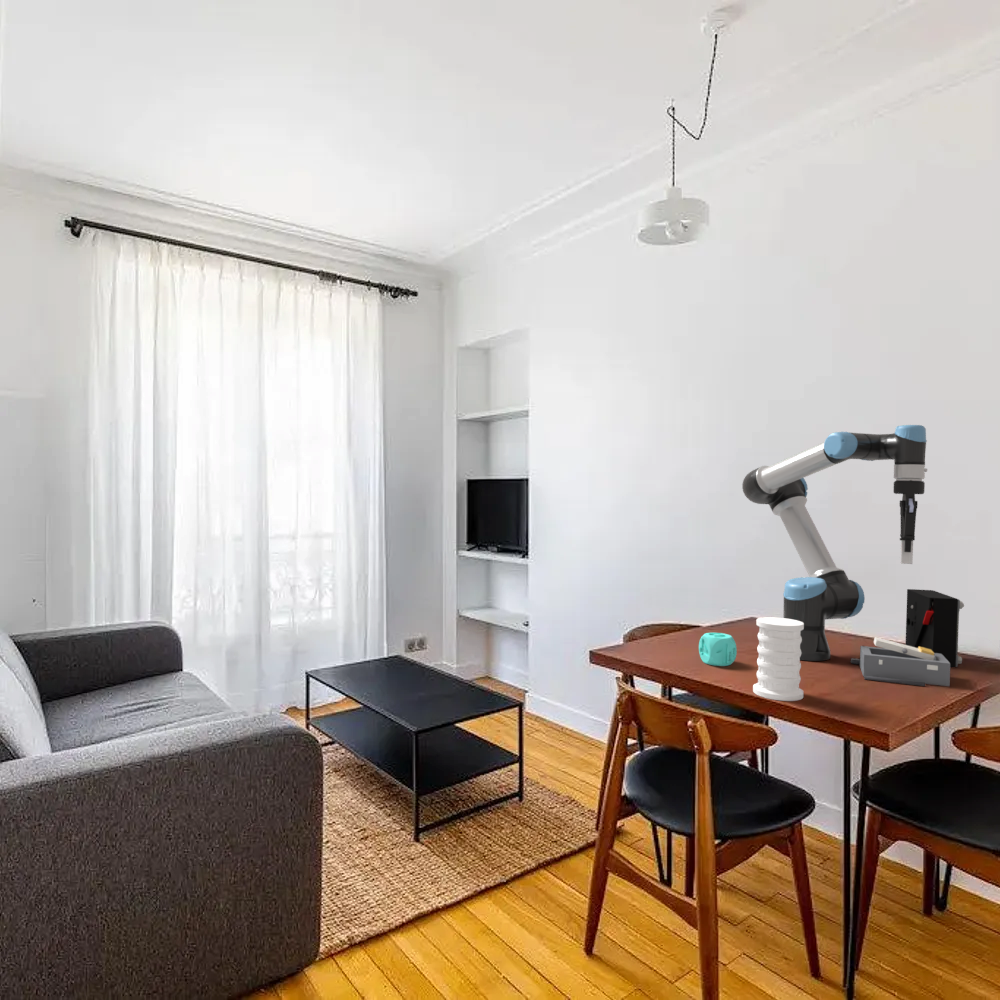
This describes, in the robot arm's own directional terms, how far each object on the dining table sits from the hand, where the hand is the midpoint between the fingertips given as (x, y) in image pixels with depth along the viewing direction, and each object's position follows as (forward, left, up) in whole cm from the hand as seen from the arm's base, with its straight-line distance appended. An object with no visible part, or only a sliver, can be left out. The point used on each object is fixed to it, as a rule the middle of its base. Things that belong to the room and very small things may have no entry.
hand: (906, 563), depth 195 cm
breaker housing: (-1, -7, -30) cm, 31 cm away
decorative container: (-32, -41, -31) cm, 60 cm away
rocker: (-1, -7, -23) cm, 24 cm away
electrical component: (+10, +19, -31) cm, 37 cm away
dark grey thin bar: (-4, -16, -30) cm, 35 cm away
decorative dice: (-49, -16, -31) cm, 60 cm away
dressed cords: (-1, +2, -30) cm, 31 cm away
